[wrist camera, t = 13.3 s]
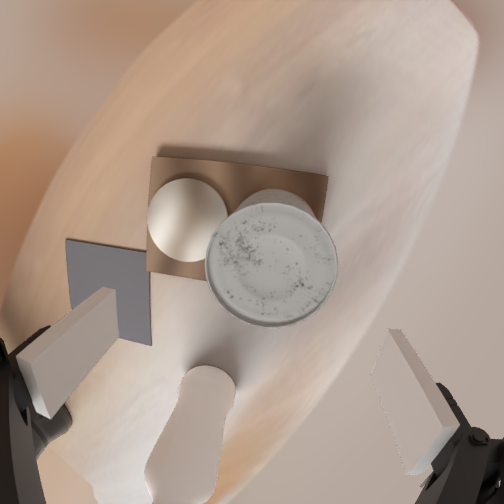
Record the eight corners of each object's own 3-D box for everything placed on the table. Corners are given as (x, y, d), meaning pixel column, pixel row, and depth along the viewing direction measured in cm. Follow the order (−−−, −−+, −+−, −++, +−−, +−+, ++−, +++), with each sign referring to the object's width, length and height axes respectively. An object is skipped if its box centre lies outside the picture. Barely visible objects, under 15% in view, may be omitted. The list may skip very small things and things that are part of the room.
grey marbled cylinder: (300, 176, 31) (313, 181, 20) (328, 258, 34) (352, 305, 22) (217, 207, 33) (183, 230, 21) (249, 285, 35) (234, 342, 23)
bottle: (176, 364, 42) (90, 542, 13) (228, 359, 40) (172, 566, 12) (194, 403, 44) (136, 569, 15) (243, 400, 42) (209, 584, 14)
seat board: (149, 267, 38) (144, 272, 36) (156, 156, 34) (150, 156, 32) (307, 291, 37) (308, 297, 35) (326, 175, 33) (329, 176, 31)
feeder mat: (74, 324, 42) (73, 324, 42) (66, 239, 38) (65, 239, 38) (151, 345, 41) (150, 345, 41) (150, 252, 37) (149, 253, 37)
